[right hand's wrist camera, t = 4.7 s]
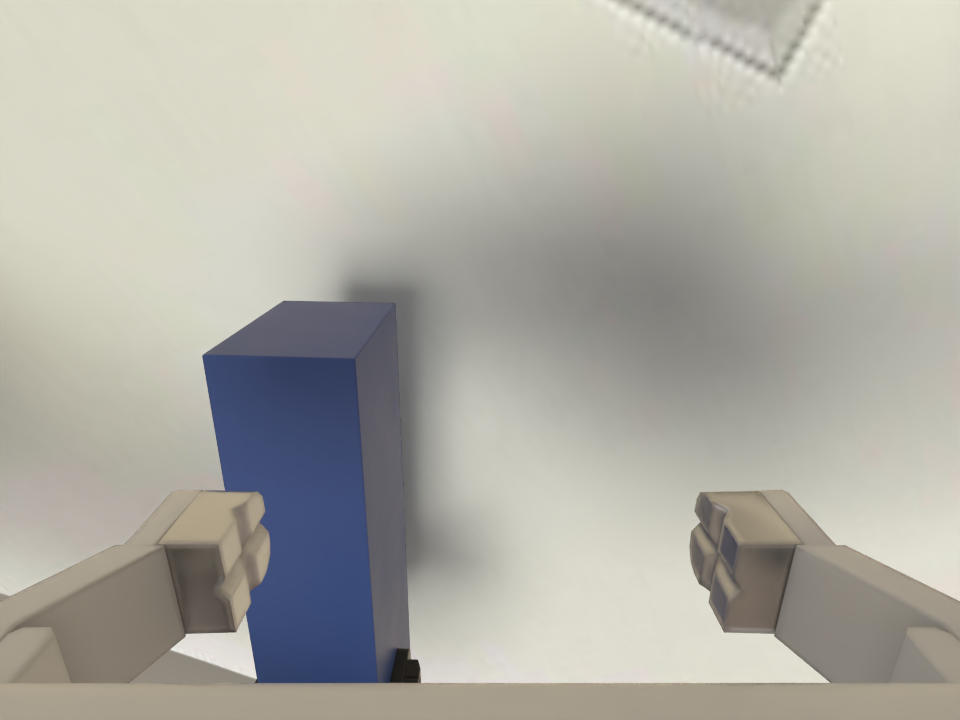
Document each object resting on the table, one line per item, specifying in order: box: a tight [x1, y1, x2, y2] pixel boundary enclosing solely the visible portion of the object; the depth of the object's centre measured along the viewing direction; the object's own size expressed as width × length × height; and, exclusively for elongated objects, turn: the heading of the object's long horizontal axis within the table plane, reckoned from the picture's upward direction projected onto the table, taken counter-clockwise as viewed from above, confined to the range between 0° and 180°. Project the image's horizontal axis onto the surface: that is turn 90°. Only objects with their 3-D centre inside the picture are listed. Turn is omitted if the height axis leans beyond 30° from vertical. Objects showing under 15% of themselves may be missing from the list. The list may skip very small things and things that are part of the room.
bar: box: [203, 301, 410, 683], centre depth 27 cm, size 23×6×8 cm, turn 179°
